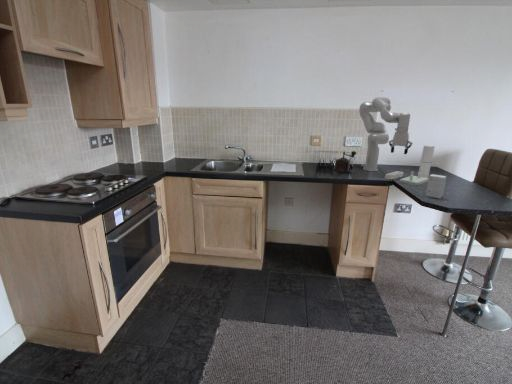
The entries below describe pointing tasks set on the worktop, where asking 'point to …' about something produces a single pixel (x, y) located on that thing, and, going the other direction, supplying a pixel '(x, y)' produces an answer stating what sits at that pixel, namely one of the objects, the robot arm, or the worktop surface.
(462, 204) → the worktop surface
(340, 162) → the dark piece
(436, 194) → the small box
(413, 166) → the worktop surface
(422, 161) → the tall grey block
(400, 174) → the power strip
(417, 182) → the mount board
